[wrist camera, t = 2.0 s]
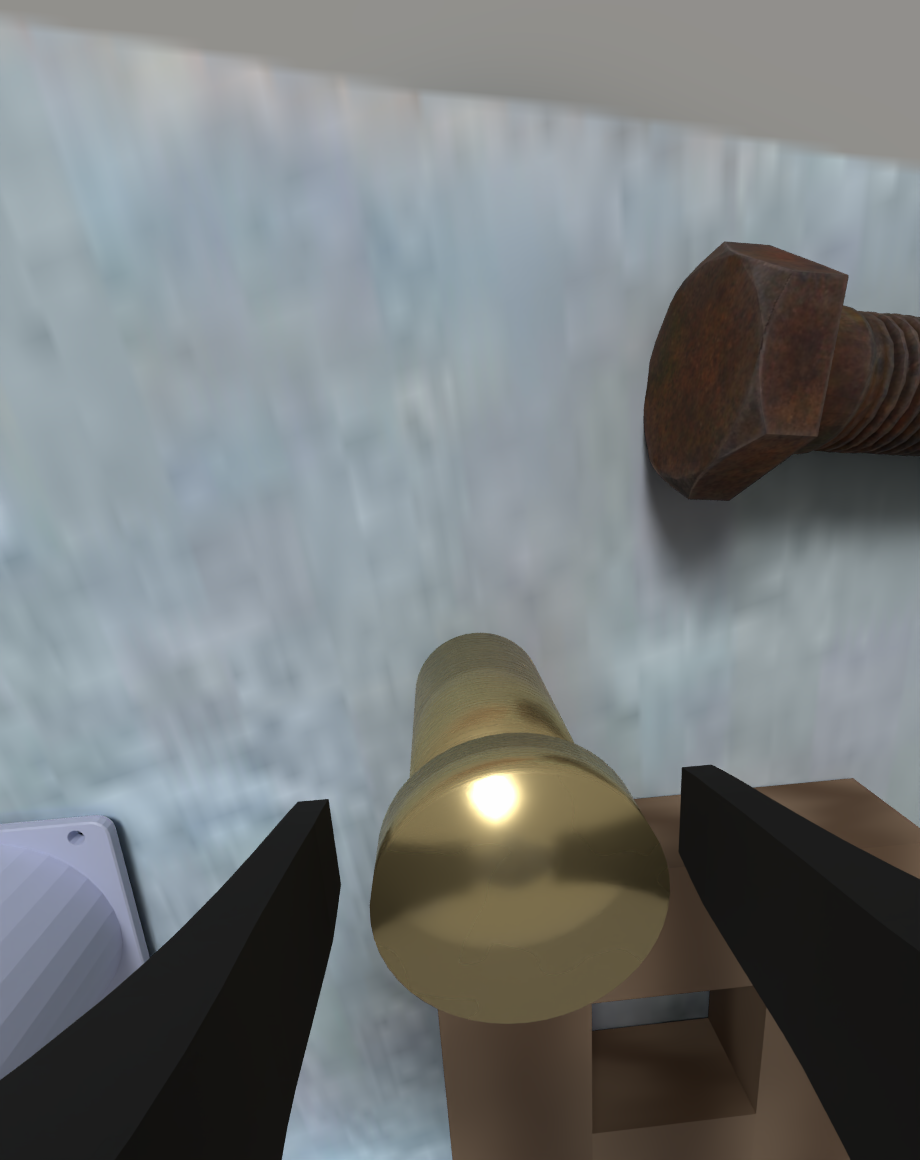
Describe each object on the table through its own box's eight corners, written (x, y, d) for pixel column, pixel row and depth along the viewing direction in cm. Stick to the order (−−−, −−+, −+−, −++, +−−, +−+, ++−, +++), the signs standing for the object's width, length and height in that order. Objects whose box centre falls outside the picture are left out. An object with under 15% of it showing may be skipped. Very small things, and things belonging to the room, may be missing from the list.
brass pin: (407, 767, 17) (386, 1038, 9) (392, 624, 15) (352, 789, 8) (556, 754, 17) (665, 1007, 9) (553, 611, 16) (675, 759, 8)
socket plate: (456, 1133, 20) (461, 1245, 18) (427, 818, 17) (426, 892, 14) (811, 1091, 21) (872, 1192, 18) (852, 778, 18) (936, 840, 15)
